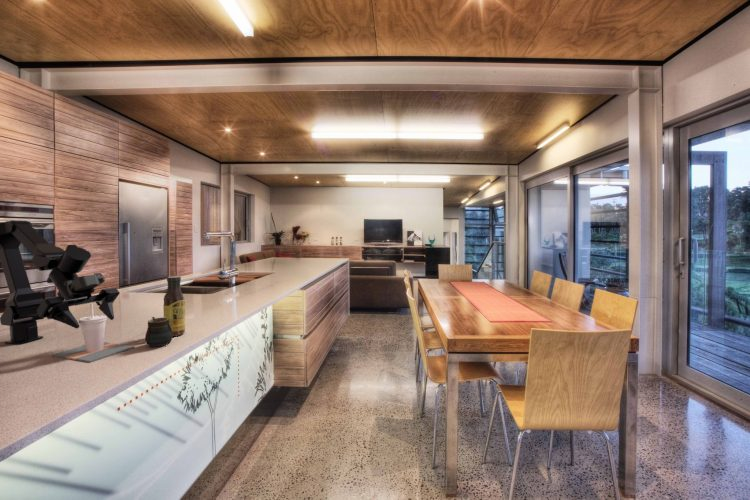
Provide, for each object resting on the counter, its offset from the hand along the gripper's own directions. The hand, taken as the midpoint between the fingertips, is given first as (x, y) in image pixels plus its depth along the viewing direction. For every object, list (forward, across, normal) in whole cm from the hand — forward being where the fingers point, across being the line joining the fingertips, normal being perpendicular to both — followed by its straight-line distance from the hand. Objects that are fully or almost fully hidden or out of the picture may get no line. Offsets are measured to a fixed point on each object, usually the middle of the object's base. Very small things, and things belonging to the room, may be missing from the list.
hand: (96, 323), depth 98 cm
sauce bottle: (+11, +20, +1) cm, 23 cm away
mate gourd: (+15, +10, -2) cm, 18 cm away
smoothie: (+5, 0, +7) cm, 9 cm away
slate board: (+5, 0, +7) cm, 9 cm away
